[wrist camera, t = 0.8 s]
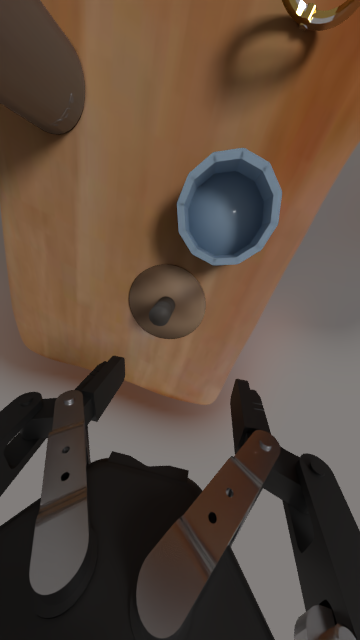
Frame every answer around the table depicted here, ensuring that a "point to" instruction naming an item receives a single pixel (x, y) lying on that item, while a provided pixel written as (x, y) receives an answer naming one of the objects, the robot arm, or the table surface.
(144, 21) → the table surface
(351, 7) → the ring
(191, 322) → the lid
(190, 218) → the bowl
